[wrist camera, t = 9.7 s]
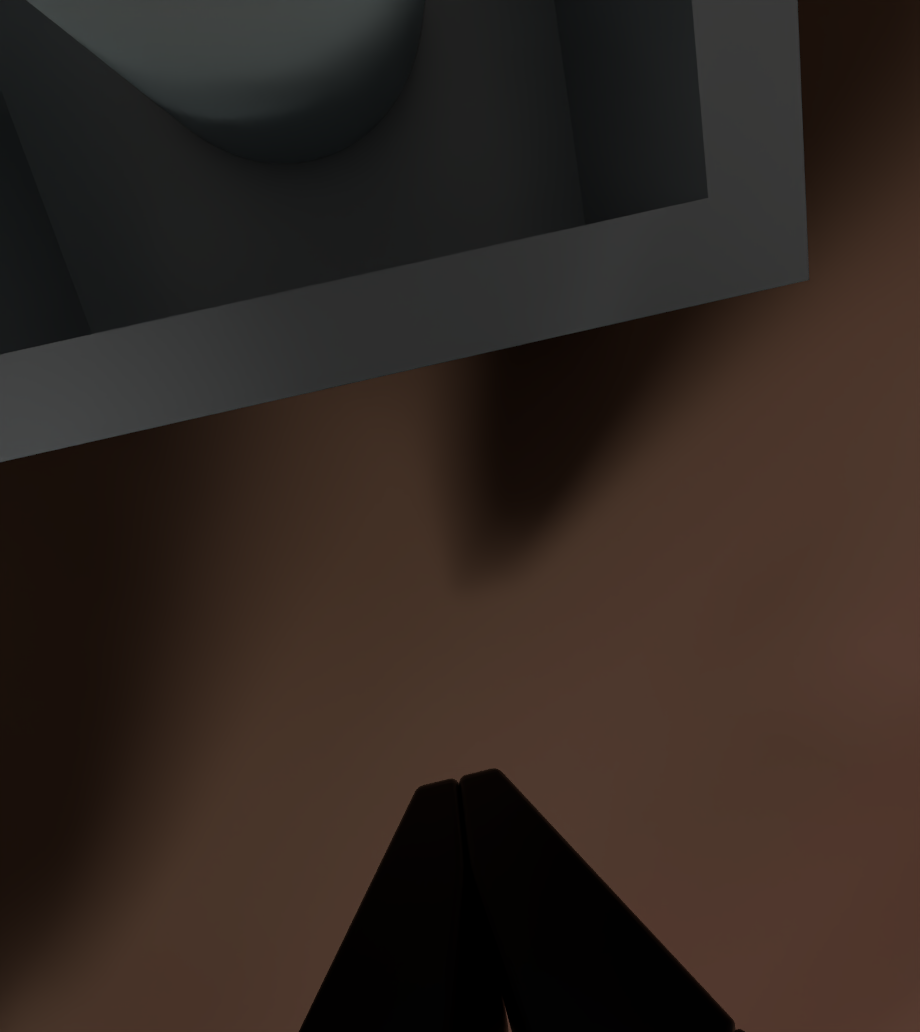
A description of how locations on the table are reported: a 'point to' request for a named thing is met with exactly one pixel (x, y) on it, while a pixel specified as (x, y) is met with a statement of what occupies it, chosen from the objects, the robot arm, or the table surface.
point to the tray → (369, 189)
